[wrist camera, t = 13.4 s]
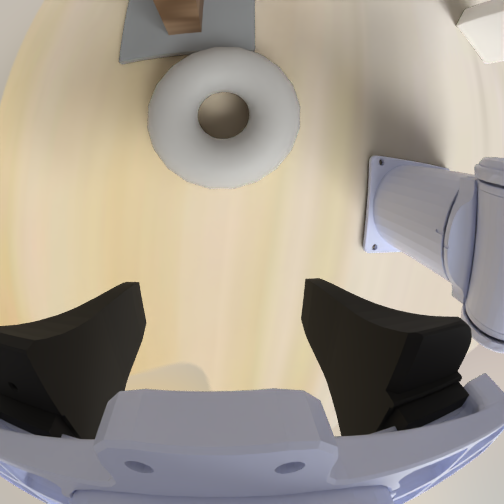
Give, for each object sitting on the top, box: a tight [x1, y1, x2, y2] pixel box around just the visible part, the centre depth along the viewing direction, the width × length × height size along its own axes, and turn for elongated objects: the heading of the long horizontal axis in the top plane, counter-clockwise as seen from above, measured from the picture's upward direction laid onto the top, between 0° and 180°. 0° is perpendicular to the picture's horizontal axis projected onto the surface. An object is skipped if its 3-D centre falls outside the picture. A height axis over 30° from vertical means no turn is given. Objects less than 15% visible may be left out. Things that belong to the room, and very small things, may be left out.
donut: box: [147, 47, 300, 189], centre depth 16 cm, size 10×3×10 cm
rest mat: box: [119, 0, 255, 64], centre depth 13 cm, size 10×10×1 cm
